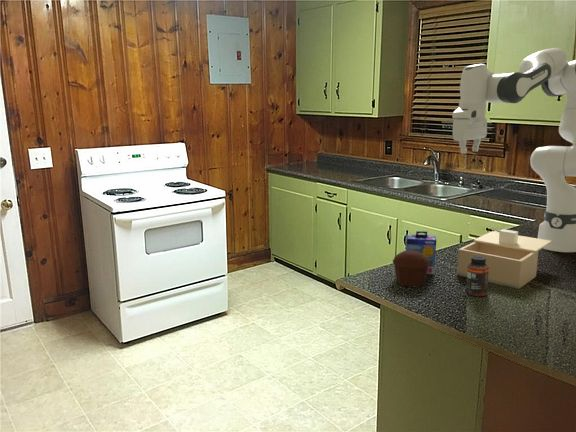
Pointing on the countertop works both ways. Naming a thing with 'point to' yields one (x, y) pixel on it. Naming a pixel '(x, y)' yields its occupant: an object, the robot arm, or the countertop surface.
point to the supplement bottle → (477, 276)
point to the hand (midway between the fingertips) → (469, 152)
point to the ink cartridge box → (423, 247)
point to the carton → (500, 263)
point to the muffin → (411, 268)
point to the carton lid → (513, 240)
